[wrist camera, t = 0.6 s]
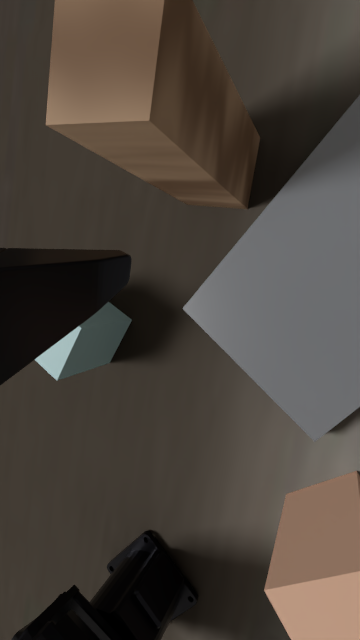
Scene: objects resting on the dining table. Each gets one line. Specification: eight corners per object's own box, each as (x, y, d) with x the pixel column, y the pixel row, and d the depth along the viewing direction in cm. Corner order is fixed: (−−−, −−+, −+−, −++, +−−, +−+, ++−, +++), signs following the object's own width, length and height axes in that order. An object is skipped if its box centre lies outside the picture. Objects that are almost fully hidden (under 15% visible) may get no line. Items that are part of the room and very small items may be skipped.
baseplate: (315, 432, 21) (314, 441, 20) (190, 307, 24) (182, 308, 23) (565, 235, 16) (586, 230, 14) (361, 103, 19) (363, 89, 17)
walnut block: (247, 209, 22) (149, 120, 10) (187, 204, 24) (45, 124, 12) (260, 137, 21) (170, -46, 10) (197, 138, 23) (56, -14, 11)
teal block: (109, 362, 28) (56, 380, 23) (75, 333, 30) (17, 343, 24) (132, 319, 27) (81, 328, 21) (94, 290, 28) (37, 291, 23)
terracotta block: (327, 563, 22) (323, 698, 15) (286, 493, 23) (264, 590, 15) (403, 546, 20) (443, 693, 13) (356, 470, 21) (368, 569, 13)
